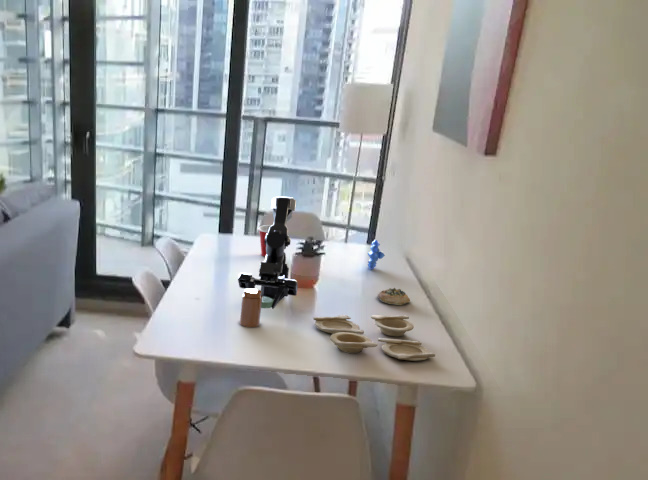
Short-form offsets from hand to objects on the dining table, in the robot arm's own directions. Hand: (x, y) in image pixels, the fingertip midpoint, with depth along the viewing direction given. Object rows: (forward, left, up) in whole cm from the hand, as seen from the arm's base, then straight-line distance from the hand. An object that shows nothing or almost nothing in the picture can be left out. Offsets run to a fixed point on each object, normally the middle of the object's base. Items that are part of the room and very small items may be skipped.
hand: (261, 306), depth 228 cm
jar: (+7, +6, -3) cm, 10 cm away
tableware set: (-23, +26, -3) cm, 35 cm away
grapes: (-72, -50, -3) cm, 88 cm away
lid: (-1, -1, +2) cm, 2 cm away
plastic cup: (-37, -76, -3) cm, 84 cm away
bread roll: (-54, -9, -3) cm, 55 cm away
